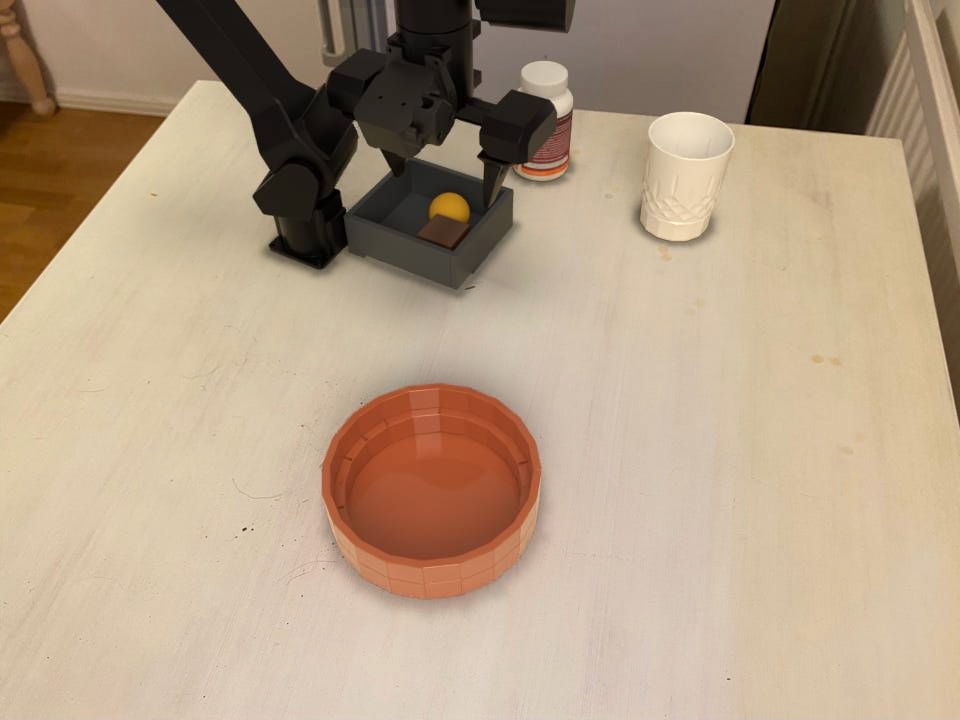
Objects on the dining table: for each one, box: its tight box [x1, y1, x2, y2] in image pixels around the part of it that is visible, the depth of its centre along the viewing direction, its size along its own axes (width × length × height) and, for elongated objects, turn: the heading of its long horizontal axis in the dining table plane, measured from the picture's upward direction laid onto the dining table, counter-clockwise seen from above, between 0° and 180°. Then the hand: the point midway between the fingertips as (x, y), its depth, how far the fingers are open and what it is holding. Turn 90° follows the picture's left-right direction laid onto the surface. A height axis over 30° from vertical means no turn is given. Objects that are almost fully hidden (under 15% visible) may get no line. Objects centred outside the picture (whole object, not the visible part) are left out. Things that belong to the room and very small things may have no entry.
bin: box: [343, 156, 514, 291], centre depth 79 cm, size 12×11×4 cm
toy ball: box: [429, 193, 470, 224], centre depth 79 cm, size 4×4×4 cm
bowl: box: [321, 382, 543, 601], centre depth 58 cm, size 15×15×5 cm
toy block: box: [417, 214, 470, 251], centre depth 76 cm, size 4×4×4 cm
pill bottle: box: [512, 60, 574, 182], centre depth 84 cm, size 6×6×11 cm
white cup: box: [639, 111, 736, 242], centre depth 78 cm, size 8×8×10 cm
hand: (443, 189), depth 72 cm, fingers open, 9 cm apart
